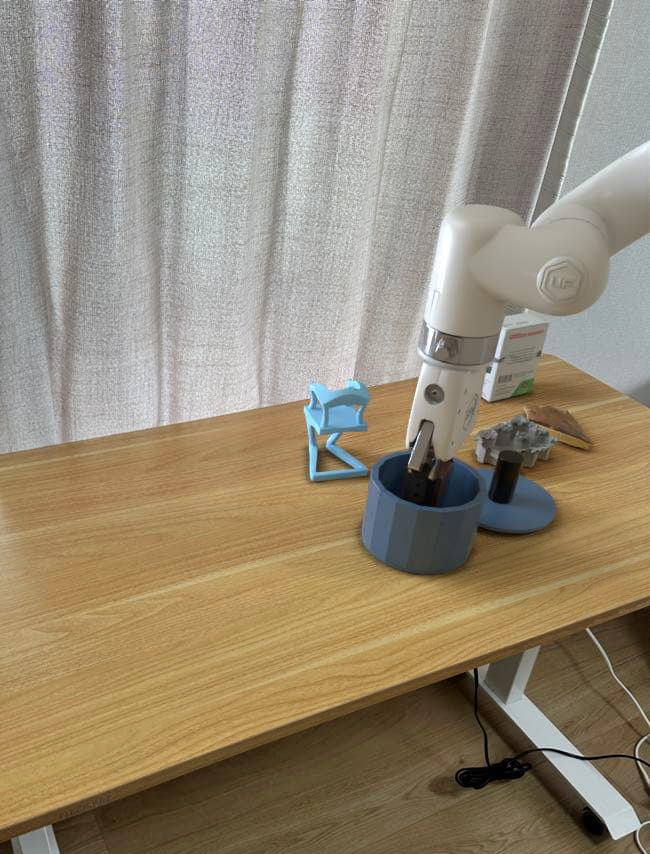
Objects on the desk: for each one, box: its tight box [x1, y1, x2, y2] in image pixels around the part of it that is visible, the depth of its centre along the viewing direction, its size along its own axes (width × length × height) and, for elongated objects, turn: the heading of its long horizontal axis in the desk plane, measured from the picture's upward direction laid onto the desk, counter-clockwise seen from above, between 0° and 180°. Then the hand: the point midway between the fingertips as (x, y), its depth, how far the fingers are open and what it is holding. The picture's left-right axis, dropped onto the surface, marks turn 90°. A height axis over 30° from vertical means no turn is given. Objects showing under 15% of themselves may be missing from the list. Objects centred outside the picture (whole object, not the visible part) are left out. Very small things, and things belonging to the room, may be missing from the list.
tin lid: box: [475, 450, 557, 534], centre depth 99 cm, size 14×14×7 cm
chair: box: [303, 378, 371, 482], centre depth 104 cm, size 8×8×12 cm
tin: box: [361, 449, 487, 575], centre depth 92 cm, size 13×13×8 cm
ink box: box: [481, 311, 550, 403], centre depth 123 cm, size 9×5×12 cm, turn 116°
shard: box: [523, 404, 594, 451], centre depth 116 cm, size 11×8×2 cm
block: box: [401, 456, 454, 508], centre depth 89 cm, size 4×4×4 cm
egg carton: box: [473, 413, 558, 470], centre depth 110 cm, size 11×8×4 cm
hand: (424, 493), depth 90 cm, fingers closed on block, 4 cm apart
